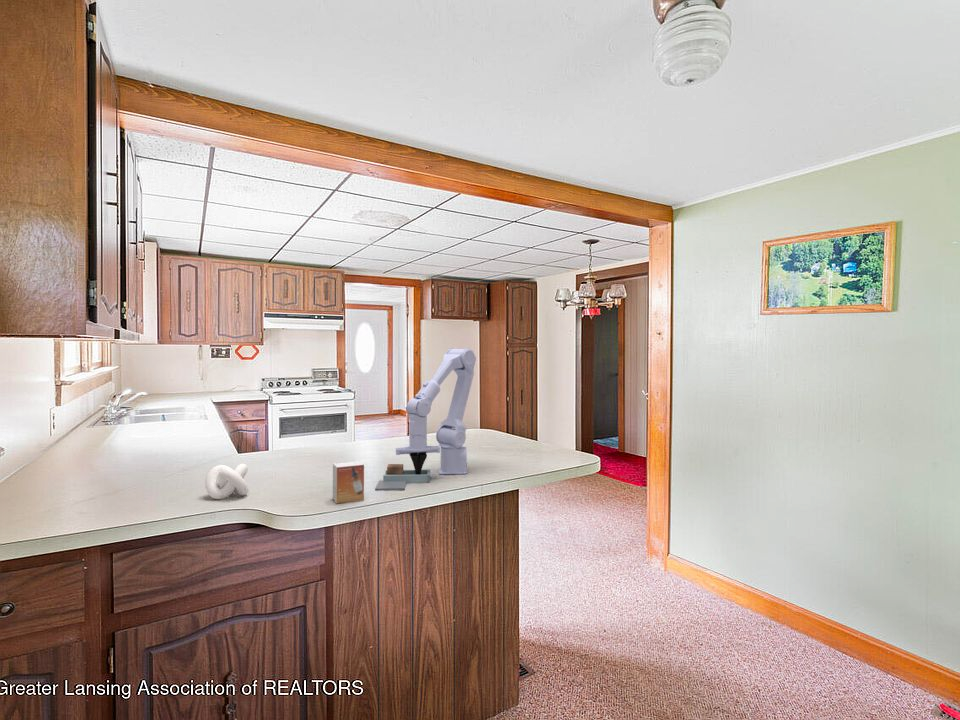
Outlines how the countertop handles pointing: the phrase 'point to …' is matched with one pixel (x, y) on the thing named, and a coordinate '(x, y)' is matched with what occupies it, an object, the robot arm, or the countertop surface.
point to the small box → (348, 482)
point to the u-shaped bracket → (409, 477)
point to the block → (395, 469)
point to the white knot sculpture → (226, 481)
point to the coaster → (391, 485)
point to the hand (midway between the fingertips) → (417, 475)
